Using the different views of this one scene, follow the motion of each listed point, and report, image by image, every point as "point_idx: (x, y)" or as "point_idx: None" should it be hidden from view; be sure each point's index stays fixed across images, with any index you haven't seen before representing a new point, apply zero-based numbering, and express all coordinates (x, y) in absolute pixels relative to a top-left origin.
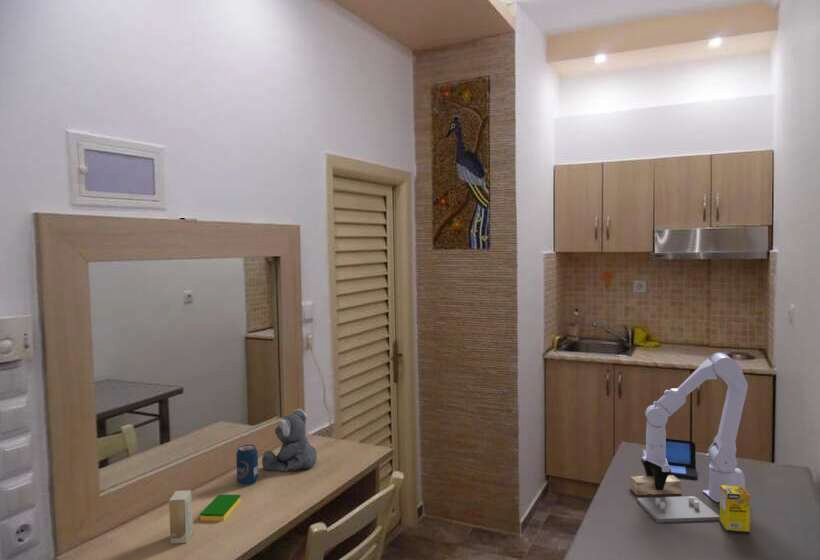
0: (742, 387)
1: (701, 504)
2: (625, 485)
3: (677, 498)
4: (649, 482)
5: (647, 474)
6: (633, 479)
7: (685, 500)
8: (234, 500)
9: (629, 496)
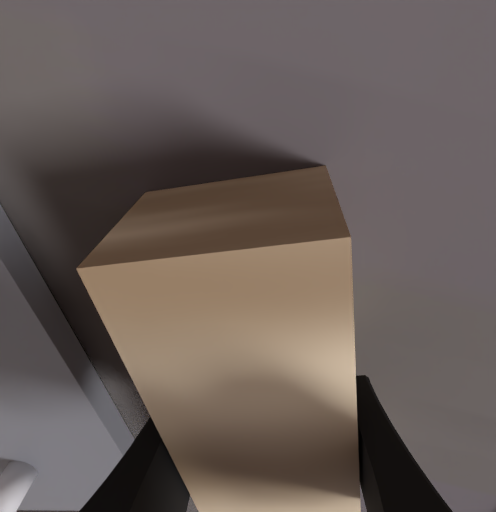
0: None
1: (45, 499)
2: (427, 127)
3: (85, 441)
4: (145, 401)
5: (368, 456)
6: (207, 252)
7: (68, 464)
8: None
9: (74, 94)
